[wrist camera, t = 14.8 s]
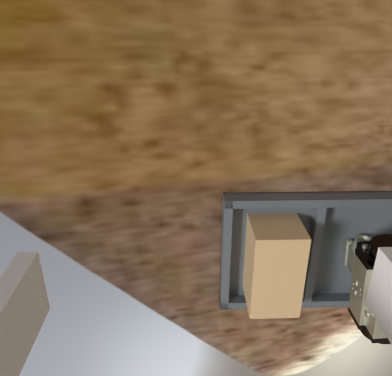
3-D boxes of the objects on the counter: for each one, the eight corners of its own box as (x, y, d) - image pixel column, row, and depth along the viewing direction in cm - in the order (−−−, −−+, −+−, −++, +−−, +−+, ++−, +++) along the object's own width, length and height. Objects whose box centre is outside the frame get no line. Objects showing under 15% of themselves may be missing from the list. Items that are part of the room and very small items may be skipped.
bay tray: (222, 193, 45) (228, 220, 39) (411, 190, 46) (446, 217, 40) (219, 297, 52) (223, 334, 46) (384, 294, 52) (409, 331, 46)
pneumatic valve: (379, 207, 46) (440, 267, 35) (369, 284, 51) (419, 357, 40) (334, 211, 46) (381, 272, 35) (328, 287, 51) (367, 362, 40)
